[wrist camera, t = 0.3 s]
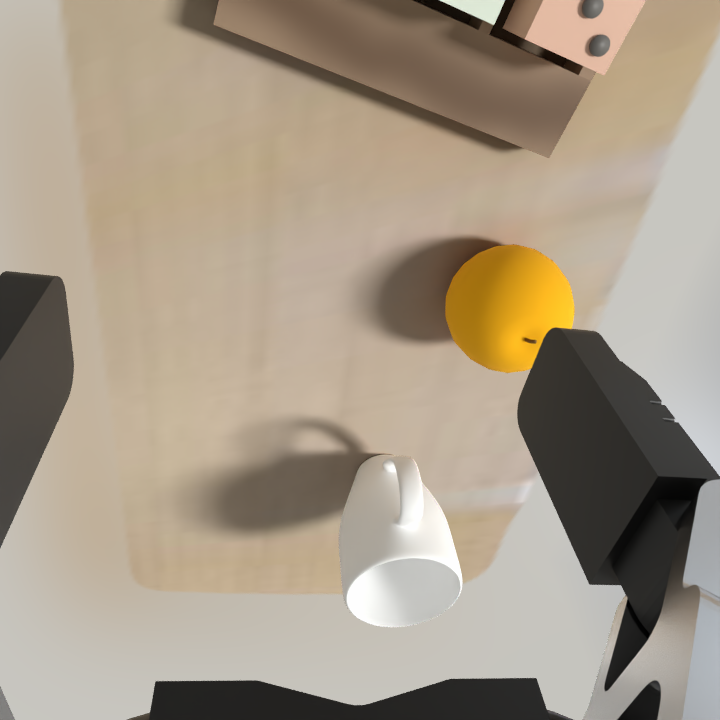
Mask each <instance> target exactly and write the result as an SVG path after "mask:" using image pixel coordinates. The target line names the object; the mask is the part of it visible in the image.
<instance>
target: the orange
mask: <svg viewBox="0 0 720 720" xmlns="http://www.w3.org/2000/svg"><path fill="white" fill-rule="evenodd" d="M445 315H446V320H447V323H448V326H449V329H450V332H451V335H452V338H453V340H454V341H455V343H456V344H457V345H458V346H459V347H460V348H461V350H462V351H463V352H464V353H465V354H466V355H467V356H468V357H469V358H470V359H471V360H473V361H475V362H476V363H478V364H480V365H482V366H484V367H486V368H488V369H491V370H495V371H500V372H505V373H510V372H518V371H525V370H528V369H531V368H532V366H533V363H534V361H535V358H536V356H537V353H538V351H539V348H540V346H541V344H542V341H543V339H544V337H545V335H546V334H547V332H548V331H549V330H550V329H552V328H555V327H558V328H568V329H572V324H573V318H574V302H573V297H572V291H571V287H570V284H569V282H568V280H567V279H566V277H565V276H564V275H563V273H562V272H561V270H560V269H559V268H558V266H557V265H556V264H555V263H554V262H553V261H552V260H551V259H549V258H548V257H546V256H545V255H543V254H542V253H540V252H539V251H537V250H535V249H532V248H528V247H524V246H519V245H514V244H513V245H503V246H495V247H493V248H490V249H487V250H485V251H482V252H480V253H478V254H477V255H475V256H474V257H472V258H471V259H470V260H468V261H467V262H466V263H464V264H463V265H462V267H461V268H460V269H459V270H458V272H457V273H456V274H455V276H454V277H453V279H452V281H451V284H450V287H449V289H448V292H447V295H446V309H445Z"/></svg>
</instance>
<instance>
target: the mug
mask: <svg viewBox="0 0 720 720" xmlns="http://www.w3.org/2000/svg"><path fill="white" fill-rule="evenodd" d="M339 556H340V568H341V580H342V590H343V597H344V600H345V603H346V606H347V608H348V609H349V611H350V612H351V613H352V614H353V615H354V616H355V617H357V618H358V619H360V620H362V621H364V622H366V623H369V624H372V625H377V626H383V627H403V626H411V625H415V624H419V623H423V622H425V621H428V620H430V619H432V618H435V617H437V616H439V615H440V614H442V613H443V612H445V611H446V610H447V609H448V608H450V607H451V606H452V605H453V604H454V603H455V601H456V600H457V598H458V597H459V595H460V592H461V589H462V574H461V569H460V565H459V561H458V558H457V554H456V550H455V547H454V543H453V540H452V536H451V532H450V529H449V526H448V523H447V520H446V518H445V515H444V513H443V511H442V509H441V507H440V506H439V504H438V503H437V501H436V500H435V498H434V497H433V495H432V494H431V493H430V492H429V490H428V489H427V488H426V487H425V485H424V484H423V483H422V482H421V478H420V473H419V470H418V466H417V464H416V462H415V460H414V459H413V458H411V457H409V456H394V455H377V456H374V457H371V458H369V459H368V460H366V461H365V462H363V463H362V465H361V466H360V467H359V469H358V471H357V474H356V477H355V479H354V482H353V485H352V488H351V491H350V493H349V496H348V499H347V502H346V505H345V508H344V511H343V514H342V518H341V523H340V529H339Z"/></svg>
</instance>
